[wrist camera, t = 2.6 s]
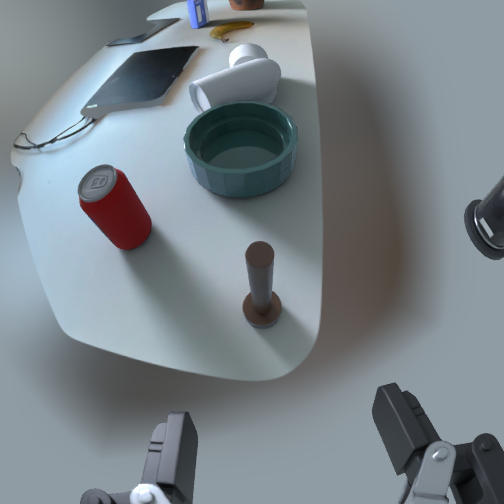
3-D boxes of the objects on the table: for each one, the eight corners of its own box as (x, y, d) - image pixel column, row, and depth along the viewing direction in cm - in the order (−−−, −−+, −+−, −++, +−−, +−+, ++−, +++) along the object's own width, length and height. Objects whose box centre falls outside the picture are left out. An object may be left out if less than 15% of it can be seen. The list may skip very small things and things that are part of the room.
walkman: (198, 28, 75) (193, 0, 64) (191, 28, 76) (186, 0, 65) (210, 21, 78) (206, -6, 67) (203, 21, 79) (199, -6, 68)
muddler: (281, 294, 35) (292, 227, 21) (279, 329, 33) (290, 285, 19) (245, 292, 36) (231, 224, 21) (242, 327, 34) (224, 282, 19)
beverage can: (119, 212, 42) (85, 162, 31) (158, 212, 41) (128, 157, 30) (108, 251, 39) (65, 206, 28) (148, 253, 38) (110, 204, 28)
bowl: (293, 128, 48) (295, 101, 43) (295, 203, 41) (299, 176, 35) (202, 127, 49) (196, 102, 44) (182, 199, 42) (171, 173, 37)
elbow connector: (295, 117, 47) (276, 67, 56) (284, 69, 38) (266, 30, 47) (201, 142, 51) (203, 88, 60) (177, 101, 42) (186, 54, 50)
